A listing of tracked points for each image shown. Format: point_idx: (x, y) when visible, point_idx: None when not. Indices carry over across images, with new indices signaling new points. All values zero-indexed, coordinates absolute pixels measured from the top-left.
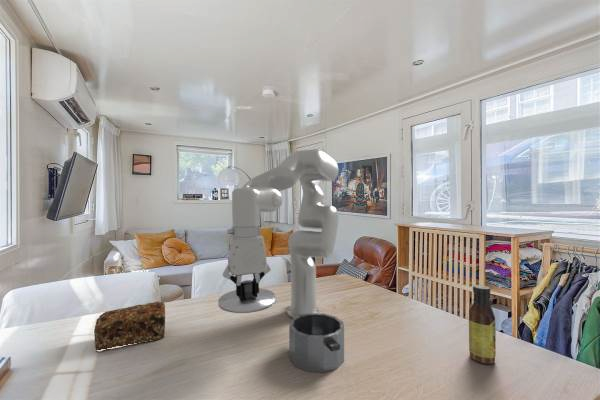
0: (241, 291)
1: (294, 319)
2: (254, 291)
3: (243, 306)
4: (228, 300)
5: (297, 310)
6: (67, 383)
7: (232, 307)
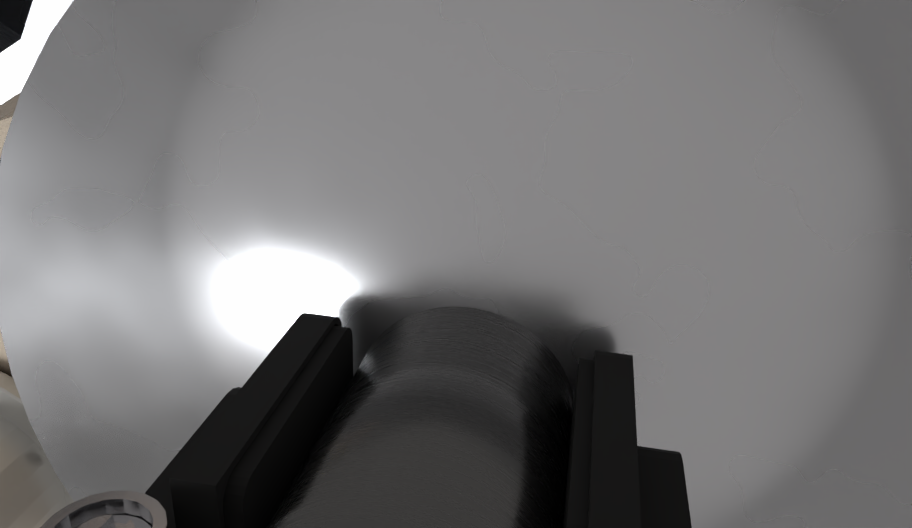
0: (611, 451)
1: (16, 64)
2: (314, 396)
3: (683, 68)
4: (811, 487)
5: (12, 465)
6: None
7: (905, 143)
